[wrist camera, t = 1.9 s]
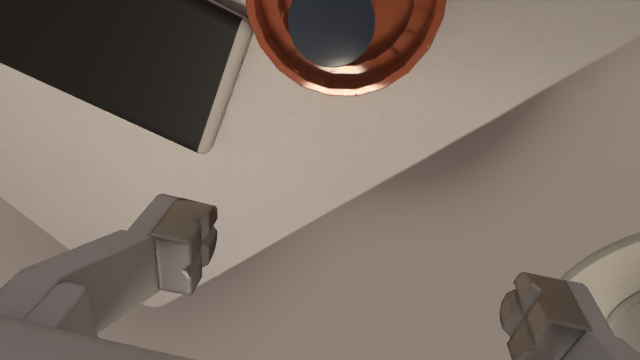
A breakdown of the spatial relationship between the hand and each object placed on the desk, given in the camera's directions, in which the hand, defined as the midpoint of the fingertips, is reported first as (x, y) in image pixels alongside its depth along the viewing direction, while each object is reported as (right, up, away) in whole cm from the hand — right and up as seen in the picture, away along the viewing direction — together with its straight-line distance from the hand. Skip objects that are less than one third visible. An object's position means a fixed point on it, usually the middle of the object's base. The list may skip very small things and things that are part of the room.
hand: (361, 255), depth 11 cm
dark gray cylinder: (+1, +16, +18) cm, 24 cm away
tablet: (-21, +16, +23) cm, 34 cm away
